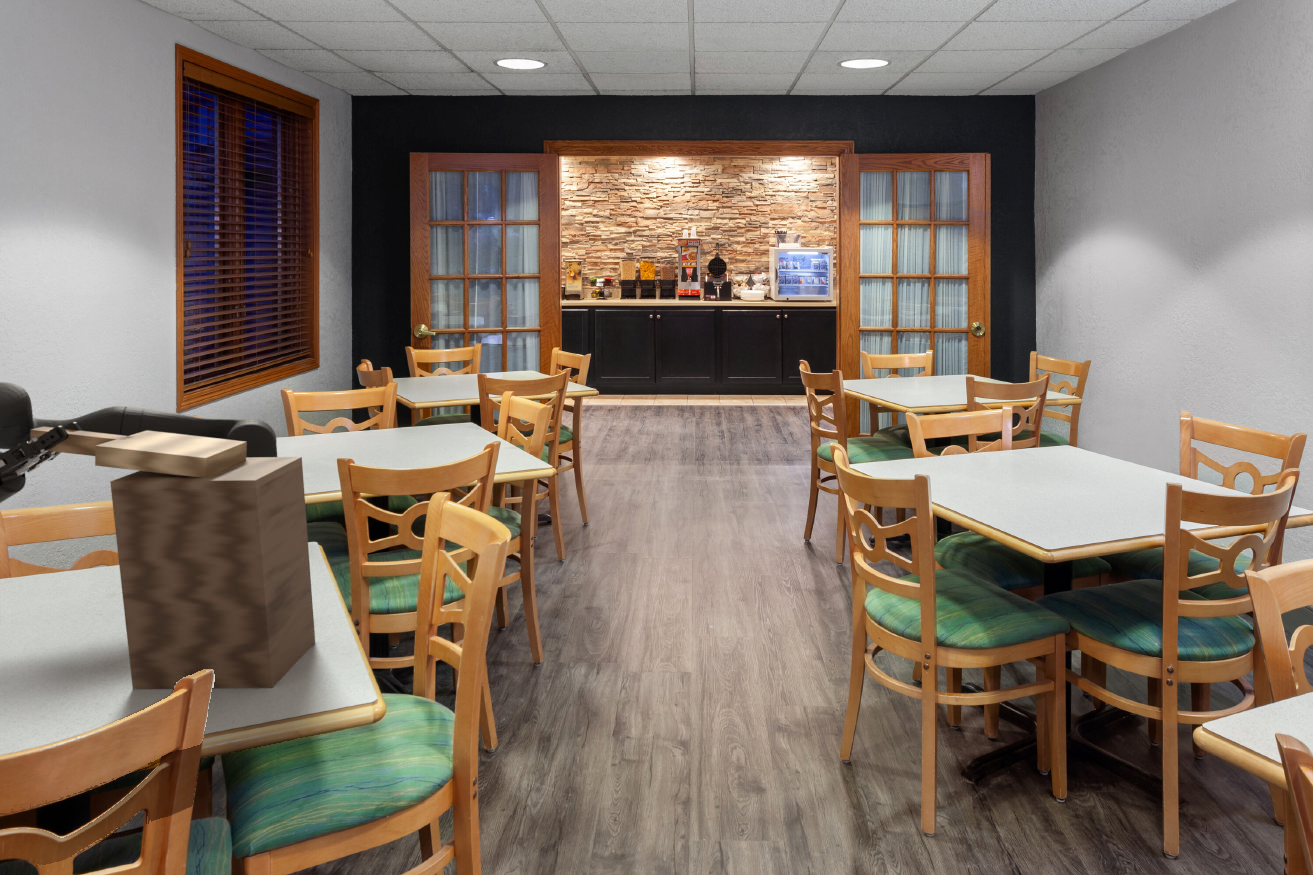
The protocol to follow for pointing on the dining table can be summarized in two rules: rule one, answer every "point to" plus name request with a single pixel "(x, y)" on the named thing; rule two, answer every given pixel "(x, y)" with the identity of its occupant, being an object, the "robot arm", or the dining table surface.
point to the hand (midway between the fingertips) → (71, 429)
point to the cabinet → (215, 573)
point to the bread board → (153, 451)
